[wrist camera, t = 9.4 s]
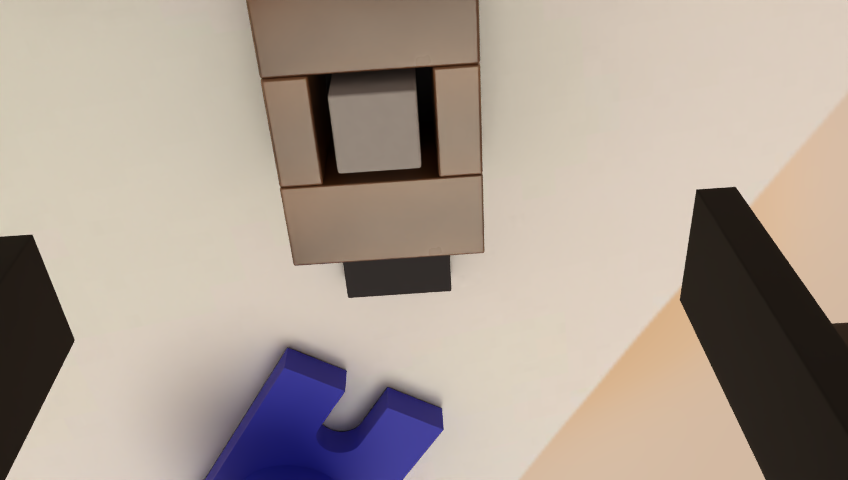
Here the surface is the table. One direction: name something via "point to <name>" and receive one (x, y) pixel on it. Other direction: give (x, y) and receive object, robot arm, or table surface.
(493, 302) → the table surface
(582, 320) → the table surface
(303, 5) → the brown wooden frame
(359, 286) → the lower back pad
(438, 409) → the mount
